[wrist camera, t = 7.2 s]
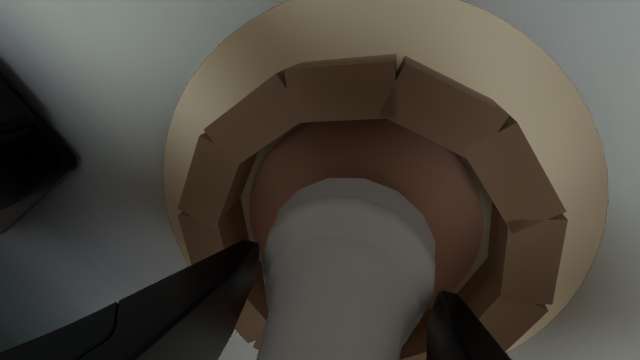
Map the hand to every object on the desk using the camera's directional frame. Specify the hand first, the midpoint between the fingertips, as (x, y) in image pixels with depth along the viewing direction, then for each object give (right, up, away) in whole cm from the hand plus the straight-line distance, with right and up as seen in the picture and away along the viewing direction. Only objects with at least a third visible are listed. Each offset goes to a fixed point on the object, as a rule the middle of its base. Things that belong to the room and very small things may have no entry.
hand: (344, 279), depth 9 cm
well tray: (+1, +1, +3) cm, 4 cm away
